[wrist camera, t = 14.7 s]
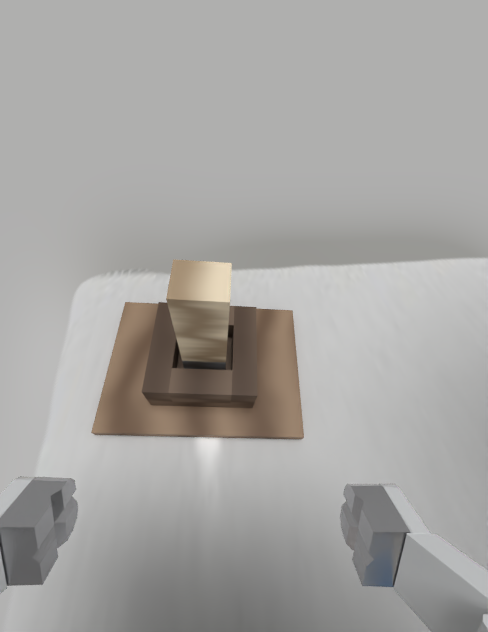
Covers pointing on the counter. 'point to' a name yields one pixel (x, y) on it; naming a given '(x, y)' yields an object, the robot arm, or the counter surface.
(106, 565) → the counter surface
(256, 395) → the square hole base plate
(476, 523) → the counter surface
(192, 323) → the upright wooden square peg
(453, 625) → the robot arm
